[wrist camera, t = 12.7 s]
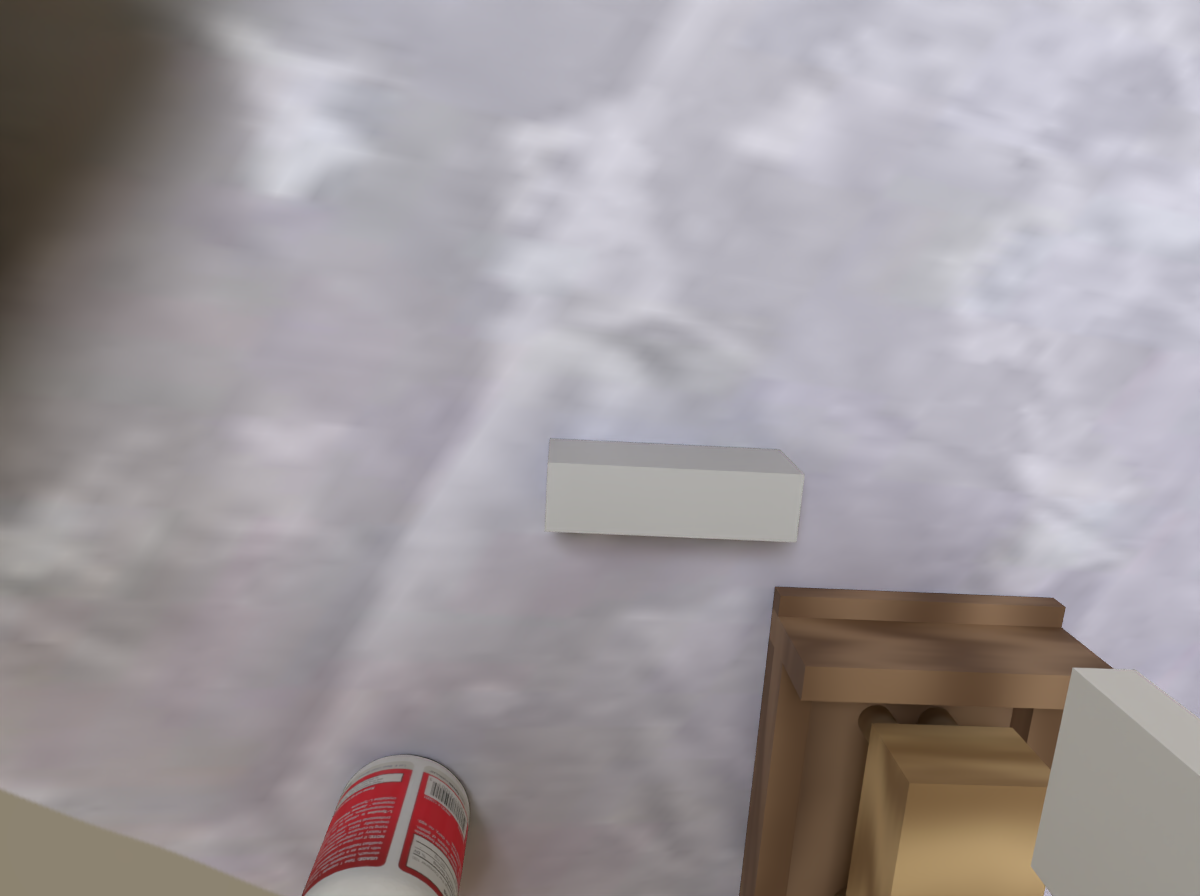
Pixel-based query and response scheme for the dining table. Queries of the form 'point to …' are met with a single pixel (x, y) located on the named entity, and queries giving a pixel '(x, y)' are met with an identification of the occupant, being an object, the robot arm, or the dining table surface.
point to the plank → (948, 813)
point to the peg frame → (884, 707)
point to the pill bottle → (395, 833)
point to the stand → (672, 491)
